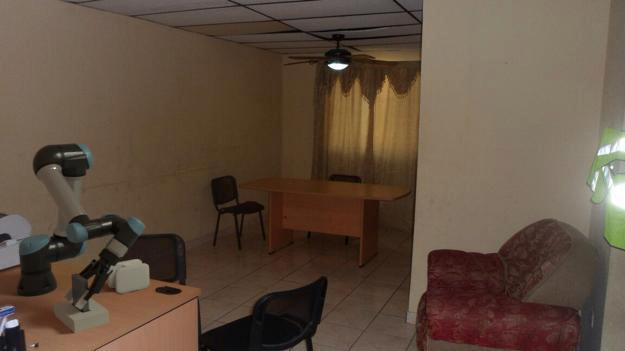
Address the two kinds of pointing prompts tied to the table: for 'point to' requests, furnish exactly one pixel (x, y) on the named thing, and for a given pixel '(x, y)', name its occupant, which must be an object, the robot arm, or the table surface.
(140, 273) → the cable organizer
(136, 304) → the table surface
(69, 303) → the slotted box
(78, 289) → the cover plate
